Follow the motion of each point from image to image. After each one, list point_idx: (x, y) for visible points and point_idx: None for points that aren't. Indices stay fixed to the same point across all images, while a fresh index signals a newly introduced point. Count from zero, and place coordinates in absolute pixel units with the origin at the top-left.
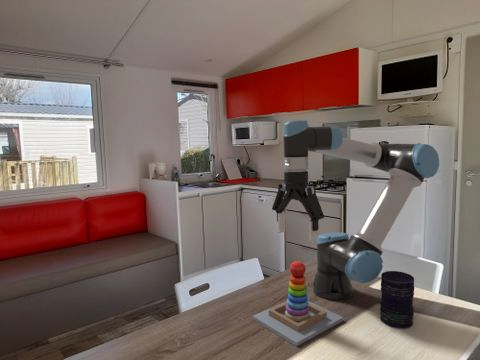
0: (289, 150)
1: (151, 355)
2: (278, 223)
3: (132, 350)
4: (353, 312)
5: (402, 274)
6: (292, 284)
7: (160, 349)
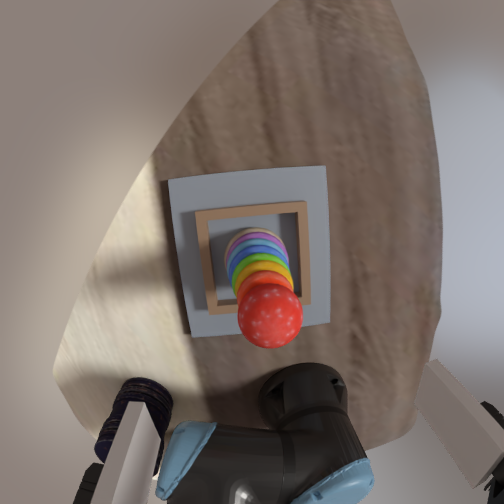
0: None
1: None
2: (468, 396)
3: None
4: (208, 371)
5: None
6: (261, 267)
7: None
